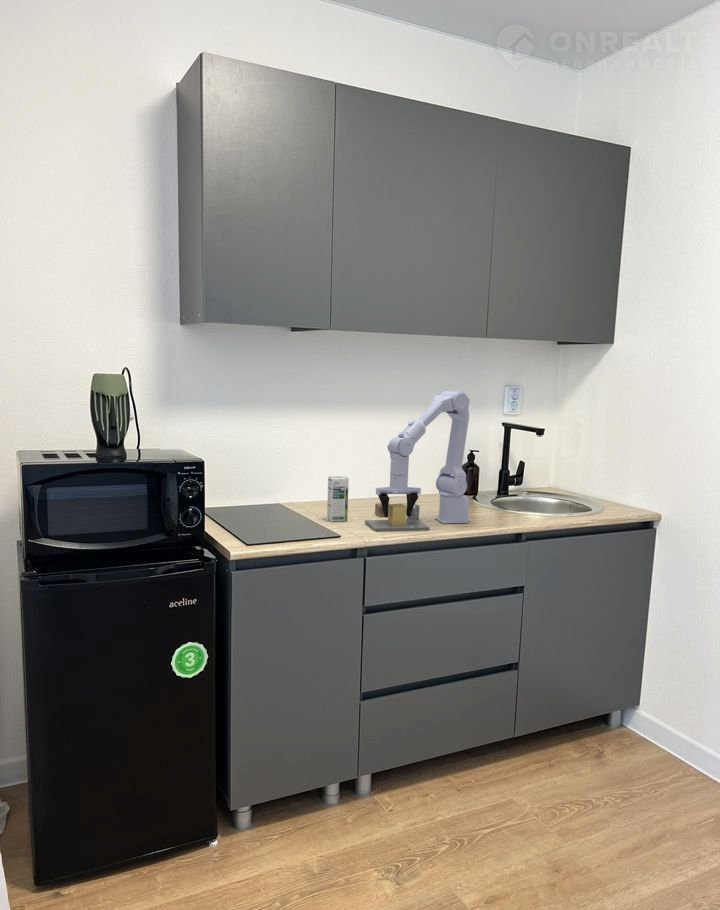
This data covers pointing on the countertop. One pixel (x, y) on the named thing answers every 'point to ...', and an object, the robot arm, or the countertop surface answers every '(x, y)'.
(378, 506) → the walnut block
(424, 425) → the robot arm
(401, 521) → the ochre block
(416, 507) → the dark metal cylinder
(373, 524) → the slate board
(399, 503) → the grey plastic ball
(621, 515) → the countertop surface
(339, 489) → the syrup box
